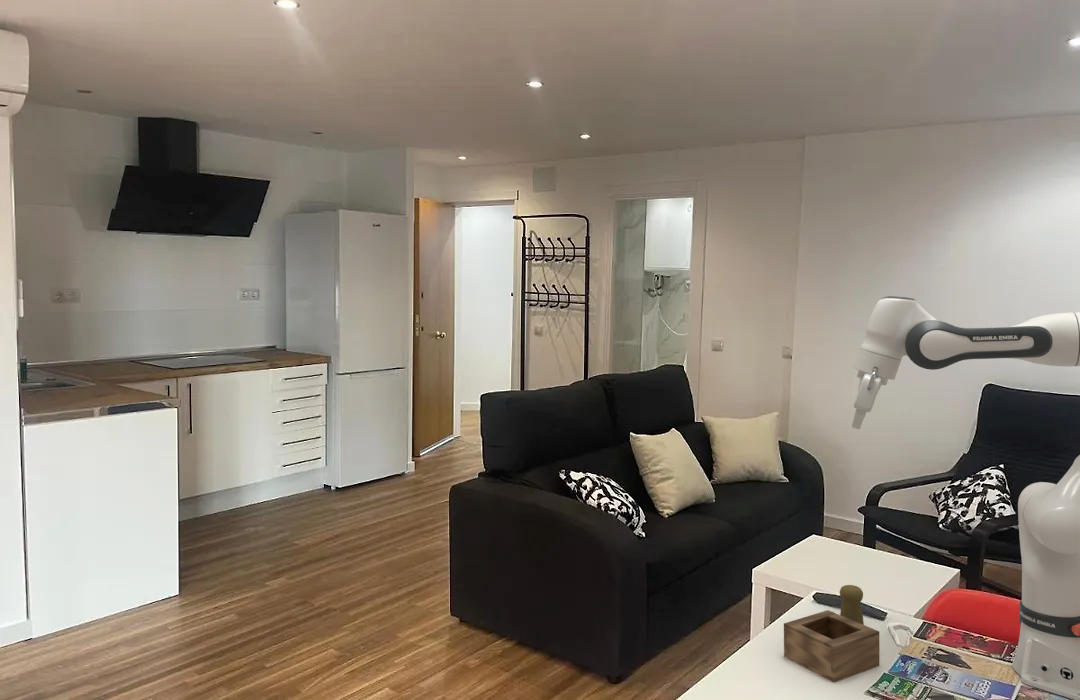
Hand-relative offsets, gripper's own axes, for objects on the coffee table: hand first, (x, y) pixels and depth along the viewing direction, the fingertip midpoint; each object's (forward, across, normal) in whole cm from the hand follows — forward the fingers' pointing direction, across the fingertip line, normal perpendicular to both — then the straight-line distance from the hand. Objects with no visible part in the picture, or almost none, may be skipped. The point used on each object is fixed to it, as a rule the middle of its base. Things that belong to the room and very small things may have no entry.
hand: (856, 425), depth 178 cm
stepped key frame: (+46, +12, -24) cm, 54 cm away
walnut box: (+51, -7, -10) cm, 52 cm away
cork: (+49, +11, -14) cm, 52 cm away
